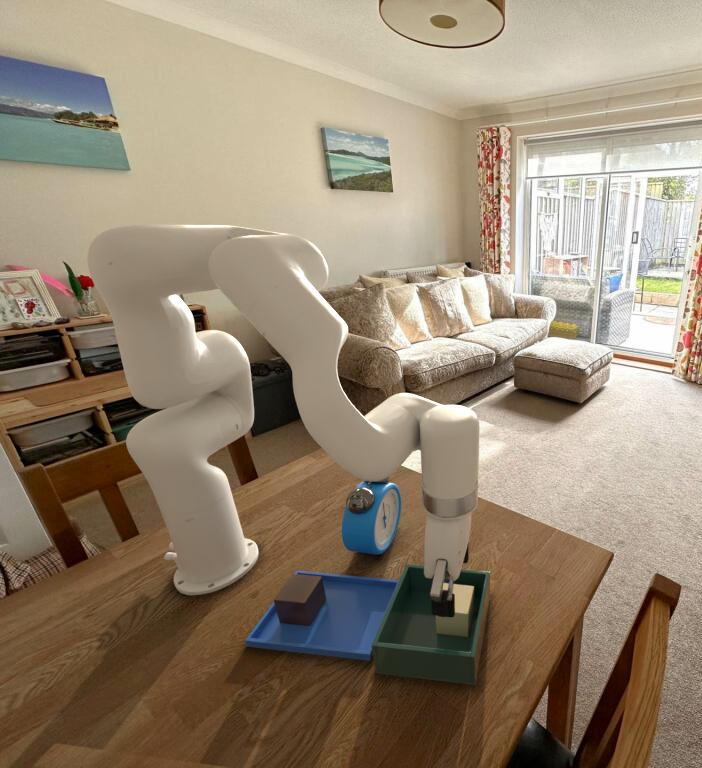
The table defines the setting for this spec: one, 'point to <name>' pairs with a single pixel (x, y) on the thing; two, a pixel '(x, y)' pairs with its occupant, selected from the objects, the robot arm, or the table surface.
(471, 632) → the green storage bin
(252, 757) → the table surface
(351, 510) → the alarm clock
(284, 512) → the table surface
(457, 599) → the cream block
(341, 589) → the blue shallow tray
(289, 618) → the walnut block
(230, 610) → the table surface
